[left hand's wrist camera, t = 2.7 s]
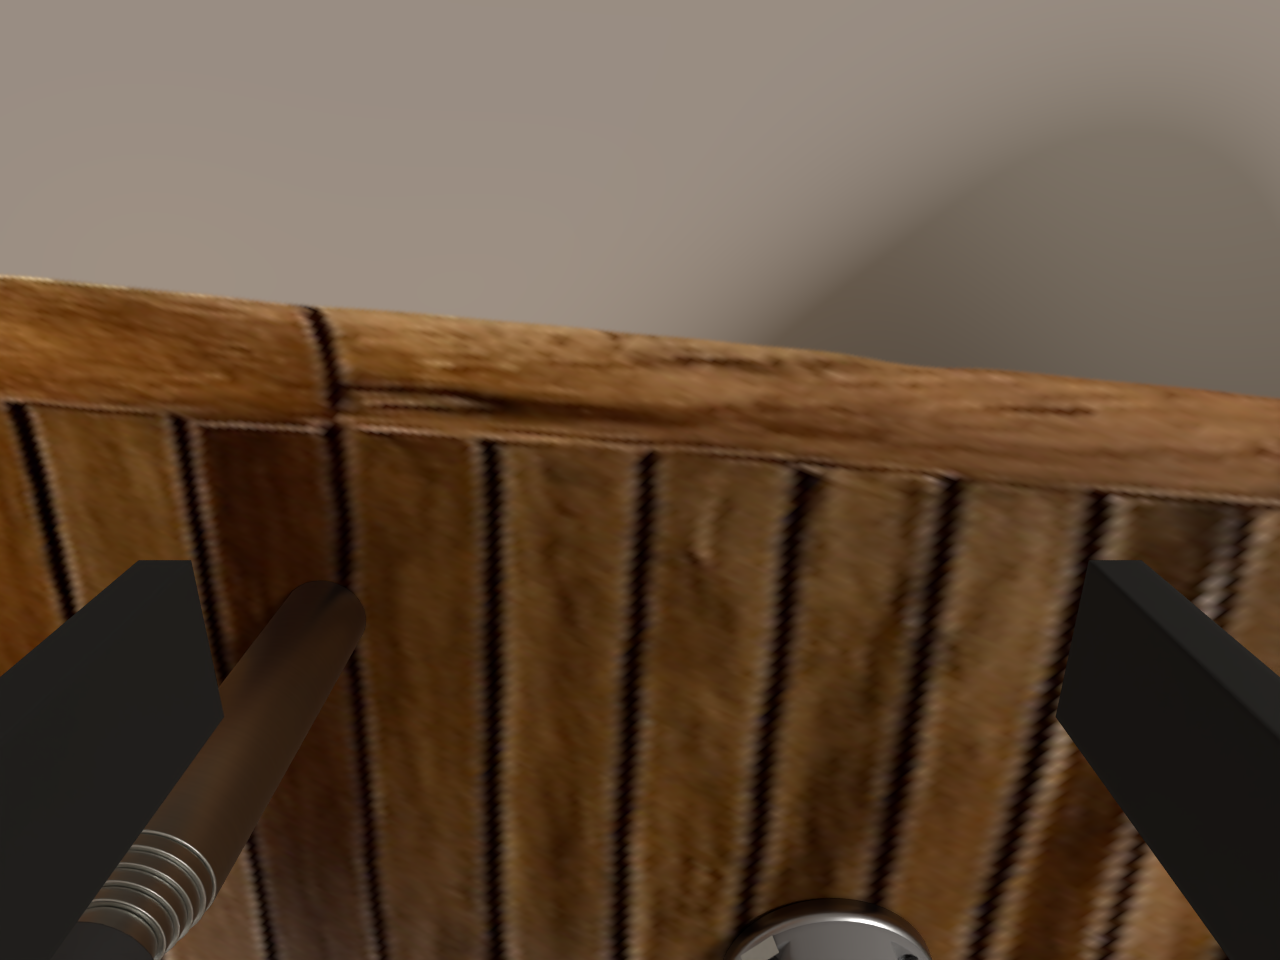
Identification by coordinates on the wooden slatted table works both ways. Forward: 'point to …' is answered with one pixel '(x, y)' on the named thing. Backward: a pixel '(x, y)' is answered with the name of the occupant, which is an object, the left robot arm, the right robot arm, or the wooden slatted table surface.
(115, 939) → the cap
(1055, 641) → the wooden slatted table surface
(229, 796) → the bottle
